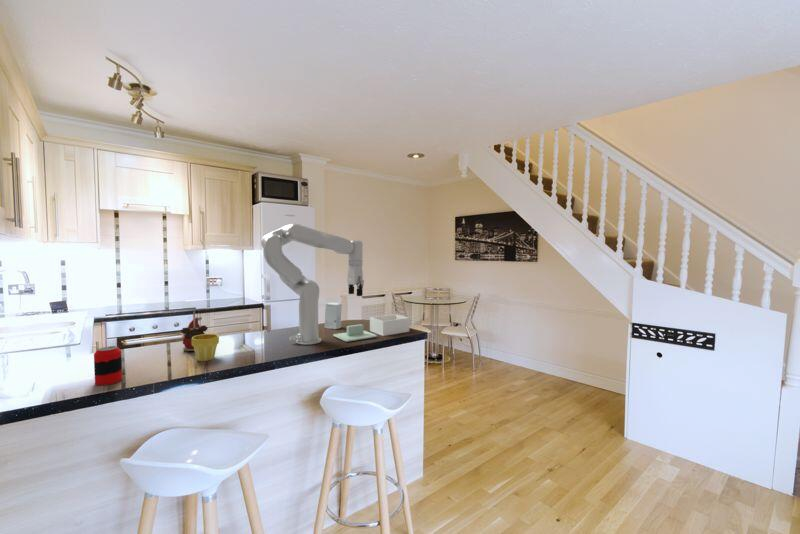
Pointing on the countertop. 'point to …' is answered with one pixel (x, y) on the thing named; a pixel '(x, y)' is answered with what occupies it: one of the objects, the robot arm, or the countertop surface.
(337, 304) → the skincare box
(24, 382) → the countertop surface
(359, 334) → the lid
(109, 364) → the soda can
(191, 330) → the dark red figurine
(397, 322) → the tub
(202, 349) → the plant pot
